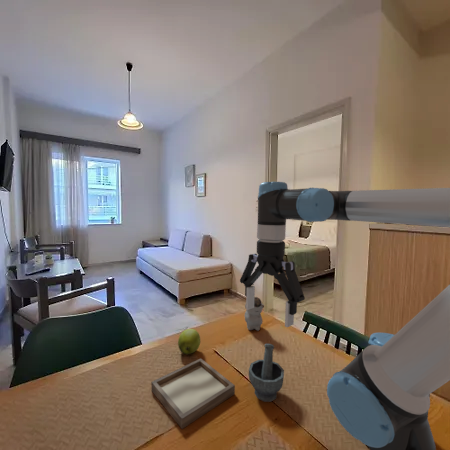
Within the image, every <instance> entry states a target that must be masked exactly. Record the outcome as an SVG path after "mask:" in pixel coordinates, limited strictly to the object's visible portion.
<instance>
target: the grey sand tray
mask: <svg viewBox="0 0 450 450" xmlns="http://www.w3.org/2000/svg"><path fill="white" fill-rule="evenodd" d="M150 385H151V392H152V393H153V395H154V396H155V397H156V398H157V399H158V401H160V403H161V404H162V406H163V408H165V409H166V411H167V413H168V414H169V415H170V416H171V417H172V419H173V420H174V421H175V422H176V423H177V425H178V426H179V428H180V429H182V430H183V429H185V428H186V427H187V426H189V425H190V424H192V423H194V422H195V421H196V420H198V419H199V418H201V417H202V416H204V415H206V414H207V413H209V412H210V411H212V410H213V409H215V408H216V407H218V406H219V405H220V404H223V403H224V402H225V401H226V400H228V399H229V398H231V397H232V396H235V391H236V385H235V384H234V383H232V382H231V381H230V380H228V379H227V378H226V377H225V376H224V375H222V374H221V373H220V372H219V371H217V370H216V369H215V368H214V367H212V366H211V365H210V364H209V363H208V362H206V361H205V360H204V359H202V358H199V359H197V360H194V361H192V362H190V363H188V364H186V365H184V366H182V367H180V368H177V369H176V370H174V371H170V372H169V373H167V374H165V375H163V376H161V377H158V378H156V379H154V380H152V381H151V384H150Z"/></svg>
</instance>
